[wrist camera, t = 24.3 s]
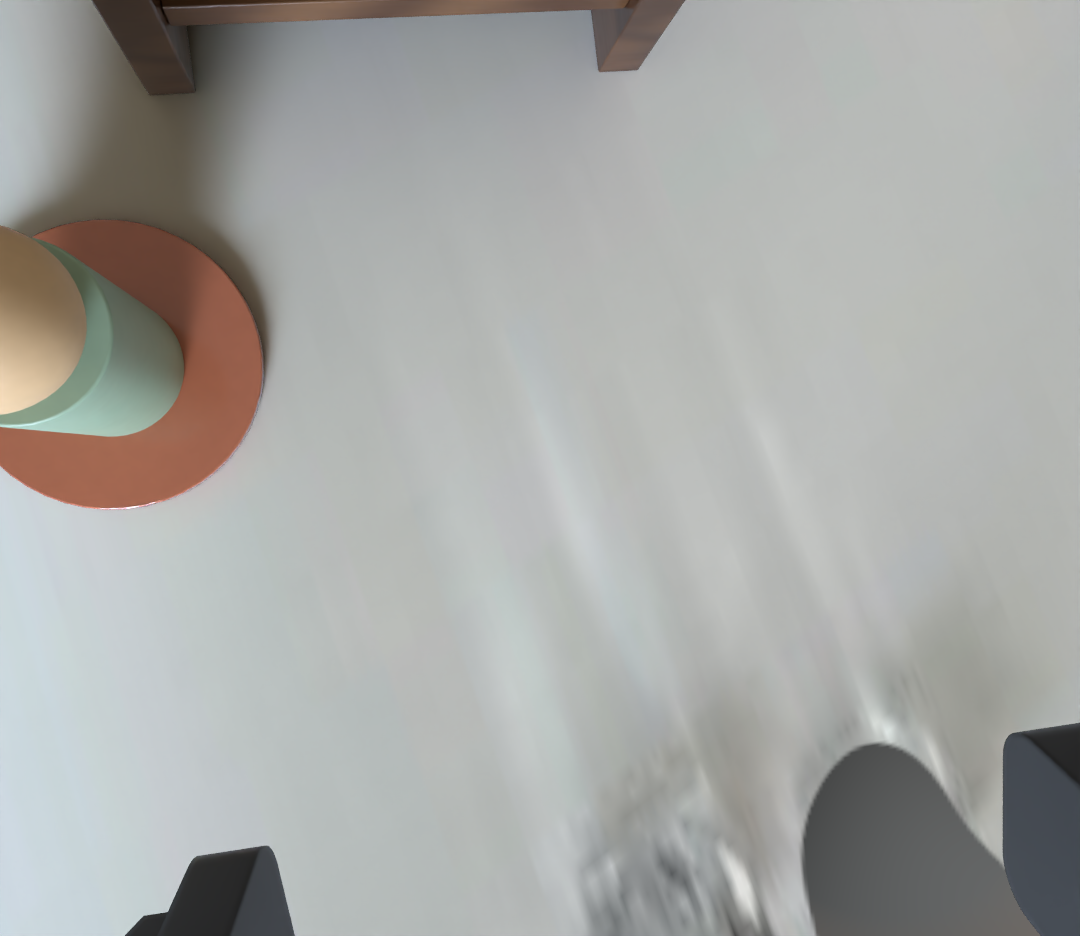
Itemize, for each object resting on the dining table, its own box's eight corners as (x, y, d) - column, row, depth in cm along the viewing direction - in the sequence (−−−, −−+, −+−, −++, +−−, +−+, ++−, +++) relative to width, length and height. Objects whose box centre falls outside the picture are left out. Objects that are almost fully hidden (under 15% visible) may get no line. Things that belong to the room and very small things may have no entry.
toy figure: (143, 274, 32) (-12, 148, 19) (209, 398, 32) (103, 357, 19) (9, 334, 31) (-246, 246, 18) (79, 460, 31) (-122, 461, 19)
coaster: (180, 177, 32) (177, 171, 32) (314, 429, 33) (313, 428, 33) (-97, 298, 31) (-107, 295, 30) (50, 559, 32) (44, 561, 31)
